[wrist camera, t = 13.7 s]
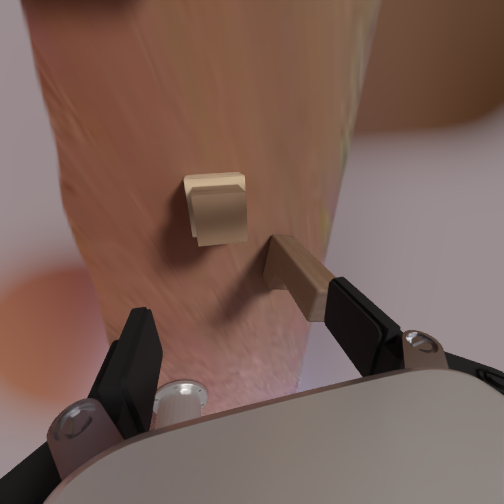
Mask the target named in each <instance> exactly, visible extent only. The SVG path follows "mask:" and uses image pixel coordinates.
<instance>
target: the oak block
mask: <svg viewBox="0 0 504 504" xmlns="http://www.w3.org/2000/svg"><path fill="white" fill-rule="evenodd" d="M234 184H238V185H239V186H240V187H241V188H242V189H243V190H244V191H245V176H244V175H242V174H241V173H239V172H234V173H216V174H198V175H186V176H185V178H184V185H185V192H186V198H187V204H188V211H189V217H190V223H191V230H192V236H193V237H197V233H196V227H195V220H194V213H193V206H192V199H191V194H192V188H193V187H201V186H217V185H234Z"/></svg>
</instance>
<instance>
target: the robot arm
mask: <svg viewBox="0 0 504 504" xmlns="http://www.w3.org/2000/svg"><path fill="white" fill-rule="evenodd" d="M324 322H325V325H326V326H327V328H328V329H329V330H330V332H331V334H332V335H333V336H334V338H335V339H336V340H337V342H338V343H339V344H340V346H341V347H342V349H343V350H344V352H345V353H346V354H347V356H348V357H349V359H350V360H351V361H352V363H353V364H354V366H355V367H356V368H357V370H358V371H359V372H360V374H361V375H362V378H358V379H354V380H350V381H345V382H341V383H337V384H333V385H328V386H325V387H320V388H316V389H312V390H307V391H304V392H299V393H295V394H291V395H287V396H283V397H279V398H275V399H271V400H266V401H262V402H258V403H254V404H250V405H246V406H242V407H238V408H234V409H230V410H226V411H222V412H218V413H214V414H210V415H206V416H202V417H201V409H202V408H203V407H204V406H205V404H206V403H207V399H208V398H207V390H206V389H205V387H204V386H203V385H201V384H200V383H197V382H194V381H188V380H182V381H175V382H171V383H169V384H166V385H164V386H163V387H161V388H160V389H158V390H157V385H158V379H159V374H160V368H161V362H162V357H163V351H162V347H161V343H160V340H159V336H158V333H157V329H156V326H155V322H154V318H153V315H152V311H151V309H148V310H147V308H146V307H141V308H134V309H132V310H131V312H130V315H129V317H128V319H127V322H126V324H125V326H124V329H123V331H122V334H121V336H120V338H119V340H115V341H114V342H113V343H112V344H111V346H110V349H109V351H108V353H107V355H106V358H105V360H104V362H103V364H102V366H101V369H100V371H99V373H98V375H97V378H96V380H95V382H94V384H93V386H92V389H91V391H90V393H89V395H88V397H87V398H86V399H82V400H79V401H77V402H75V403H73V404H71V405H70V406H68V407H67V408H66V409H64V410H63V411H62V412H61V413H60V414H59V415H58V416H57V417H56V418H55V419H54V421H53V422H52V424H51V426H50V427H49V430H48V433H47V441H46V442H45V443H44V444H43V445H41V446H40V447H39V448H38V449H36V450H35V451H34V452H33V453H32V454H31V455H29V456H28V457H27V458H25V459H24V460H23V461H22V462H21V463H20V464H18V465H17V466H16V467H14V469H12V470H11V471H10V472H8V473H7V474H6V475H5V476H3V477H2V478H1V479H0V504H504V373H503V372H502V371H499V370H497V369H494V368H492V367H489V366H486V365H483V364H480V363H477V362H474V361H471V360H468V359H465V358H462V357H459V356H456V355H453V354H450V353H447V352H445V351H444V350H443V347H442V346H441V344H440V343H439V342H438V341H437V340H436V339H435V338H433V337H432V336H430V335H428V334H426V333H423V332H420V331H416V330H408V331H405V332H404V333H403V332H402V331H401V330H400V326H399V325H398V324H396V323H395V322H394V321H393V320H392V319H390V317H388V316H387V315H386V314H385V313H384V312H383V311H382V310H381V309H379V308H378V307H377V306H376V305H375V304H374V303H373V302H372V301H370V300H369V299H368V298H367V297H366V296H365V295H364V294H362V293H361V292H360V291H359V290H358V289H357V288H356V287H354V286H353V285H352V284H351V283H350V282H349V281H348V280H347V279H345V278H344V277H338V278H333V279H332V280H331V281H330V282H329V285H328V293H327V300H326V308H325V315H324ZM156 390H157V391H156ZM153 411H154V413H156V414H157V416H156V422H155V428H154V430H152V431H149V429H150V424H151V418H152V413H153Z"/></svg>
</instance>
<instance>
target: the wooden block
mask: <svg viewBox="0 0 504 504" xmlns="http://www.w3.org/2000/svg"><path fill="white" fill-rule="evenodd" d="M333 278H336V277H335V276H334V275H333V274H332V273H331V272H330V271H329V270H328V269H327V268H326V267H325V266H324V265H323V264H321V263H320V262H319V261H318V260H317V259H316V258H315V257H314V256H313V255H312V254H311V253H310V252H309V251H308V250H307V249H306V248H305V247H304V246H303V245H302V244H301V243H300V242H299V241H297V240H296V239H295V238H294V237H292V236H282V235H272V236H271V241H270V245H269V250H268V254H267V258H266V263H265V267H264V272H263V279H264V281H265V283H266V285H267V287H268V289H280V290H288V291H289V292H290V294H291V295H292V297H293V299H294V300H295V302H296V303H297V305H298V307H299V308H300V310H301V312H302V313H303V315H304V316H305V318H306V320H307V321H309V322H324V315H325V308H326V300H327V293H328V285H329V282H330V281H331V280H332V279H333Z"/></svg>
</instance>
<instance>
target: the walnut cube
mask: <svg viewBox="0 0 504 504" xmlns="http://www.w3.org/2000/svg"><path fill="white" fill-rule="evenodd" d="M191 199H192V206H193V213H194V220H195V227H196V233H197V240H198V247H200V246H209V245H219V244H228V243H237V242H247V241H248V235H247V209H246V192H245V191H244V190H243V189H242V188H241V187H240V186H239V185H238V184H234V185H217V186H201V187H193V188H192V194H191Z"/></svg>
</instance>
